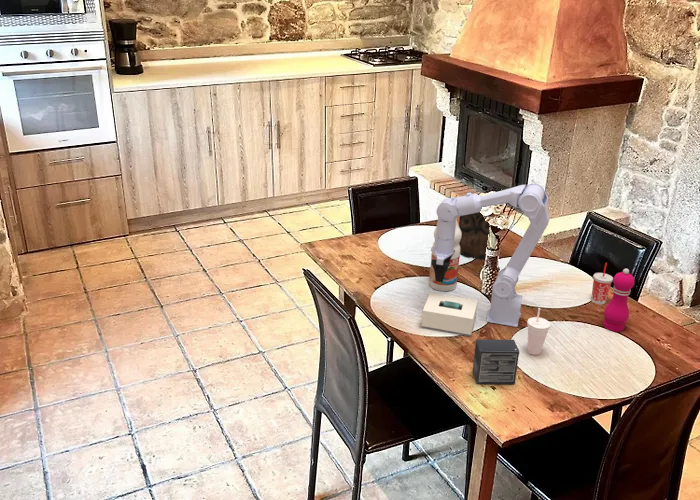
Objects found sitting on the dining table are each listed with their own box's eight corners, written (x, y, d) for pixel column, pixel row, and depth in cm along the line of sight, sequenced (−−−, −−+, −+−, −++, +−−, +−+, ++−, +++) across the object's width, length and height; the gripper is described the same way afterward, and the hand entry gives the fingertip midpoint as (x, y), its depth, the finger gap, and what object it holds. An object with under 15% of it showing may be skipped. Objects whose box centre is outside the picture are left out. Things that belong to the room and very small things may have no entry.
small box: (509, 370, 186) (514, 338, 182) (515, 385, 180) (520, 351, 176) (471, 370, 186) (475, 337, 181) (476, 384, 180) (480, 351, 175)
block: (457, 320, 209) (459, 303, 207) (456, 324, 207) (458, 307, 204) (443, 317, 210) (445, 300, 208) (441, 321, 208) (443, 304, 206)
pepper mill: (610, 333, 206) (623, 275, 198) (596, 322, 212) (608, 264, 204) (630, 331, 208) (644, 273, 199) (616, 319, 214) (629, 262, 206)
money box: (475, 317, 212) (477, 300, 210) (470, 336, 202) (472, 319, 199) (428, 309, 216) (430, 292, 213) (421, 327, 205) (422, 310, 203)
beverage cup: (587, 302, 224) (594, 264, 218) (590, 294, 229) (598, 257, 223) (606, 307, 221) (614, 268, 215) (609, 299, 226) (617, 261, 220)
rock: (497, 259, 252) (504, 209, 244) (468, 263, 248) (474, 213, 239) (479, 245, 263) (485, 197, 255) (451, 250, 258) (456, 200, 250)
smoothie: (528, 343, 200) (535, 301, 194) (549, 351, 196) (556, 308, 190) (518, 351, 195) (525, 309, 189) (539, 360, 191) (547, 317, 186)
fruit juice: (444, 277, 237) (452, 202, 226) (462, 288, 230) (471, 211, 218) (423, 282, 233) (429, 206, 221) (440, 294, 225) (448, 216, 214)
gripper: (436, 226, 216) (432, 264, 222) (428, 243, 203) (424, 283, 209) (458, 229, 214) (454, 268, 220) (451, 247, 202) (447, 287, 207)
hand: (441, 276), depth 215 cm, fingers open, 7 cm apart
